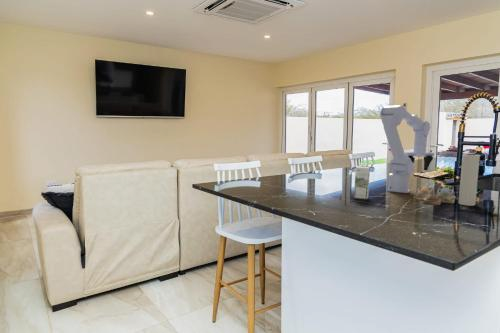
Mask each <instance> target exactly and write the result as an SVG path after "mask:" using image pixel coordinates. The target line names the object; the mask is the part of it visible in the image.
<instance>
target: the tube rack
mask: <svg viewBox="0 0 500 333" xmlns="http://www.w3.org/2000/svg"><path fill="white" fill-rule="evenodd" d="M422 187H423V186H419V187H418V188H417V189H416V193H415V194H414V195H413V197H412V199H414V200H419V201H423V199H424V198H425V197H436V198H438V199H441V203H445V204H446V203H447V204H455V201H456V198H457V197H456V196H455V195H454V189H450V188H448V189H449V190H450V192H451V193H445V192H440V191H441V189H442V188H438V189H437V190H436V193H434V190H435V188H434V187H430V189H431V191H425V190H420V189H421V188H422Z"/></svg>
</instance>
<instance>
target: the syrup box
mask: <svg viewBox="0 0 500 333" xmlns="http://www.w3.org/2000/svg"><path fill="white" fill-rule="evenodd" d="M354 171H355V174H354V175H355V176H354V194H353V198H354V199H358V200H368V199H369V189H370V188H369V187H370V171H371V167H370V166H369V165H368V166H367V165H356V166H355V170H354Z"/></svg>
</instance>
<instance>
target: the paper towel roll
mask: <svg viewBox="0 0 500 333" xmlns="http://www.w3.org/2000/svg"><path fill="white" fill-rule="evenodd" d="M480 157H481V156H480V154H476V153H474V154H473V153H466V154H465V153H464V154H462V159H461V168H460V169H461V170H460V180H459V190H458V191H459V193H458V204H459V205H461V206H470V207H473V206H476V201H477V200H476V199H477V190H478V180H479V179H478V178H479V167H480V159H481V158H480Z"/></svg>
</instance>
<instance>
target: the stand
mask: <svg viewBox="0 0 500 333" xmlns="http://www.w3.org/2000/svg"><path fill="white" fill-rule="evenodd" d="M422 204H426V205H427V204H428V205H434V206H435V205H436V206H440V205H441V204H442V202H441V199H438V198H436V197H425V198H424V199H423V200H422Z"/></svg>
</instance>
